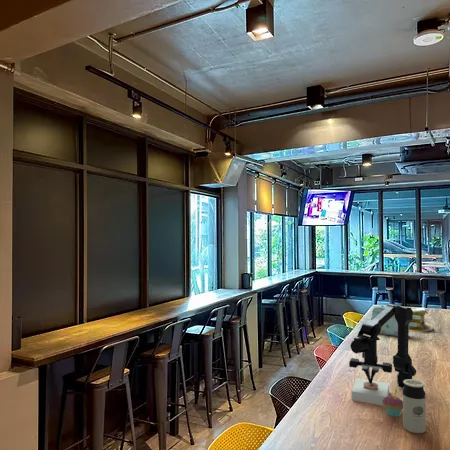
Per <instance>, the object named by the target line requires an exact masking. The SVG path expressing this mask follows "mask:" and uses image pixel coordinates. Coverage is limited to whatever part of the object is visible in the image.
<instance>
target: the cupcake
mask: <svg viewBox="0 0 450 450" xmlns="http://www.w3.org/2000/svg"><path fill="white" fill-rule="evenodd" d="M397 388H398V387H395V389H394V396H393V395H388V396H387V397H385V398H384V399H383V401H382V403H383V405H384V406H383V405H382V406H383V407H384V408H385V409H386V412H387V414H388V415H389V416H391V417H394V418H395V417H397V418H398V417H400V415H401V413H402V412H403V399H401V398H399V397H397V392H398V390H397Z"/></svg>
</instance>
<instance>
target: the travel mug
mask: <svg viewBox="0 0 450 450" xmlns="http://www.w3.org/2000/svg"><path fill="white" fill-rule="evenodd" d="M403 383H404V387H402V401H403V409H402V428H404V429H405V430H406V431H407V432H410V433H413V434H423V433H425V432H426V427H427V426H426V425H427V424H426V391H425V390H424V387H425V383H424V382H422V381H420V380H417V379H413V378H412V379H406V380H404V381H403Z"/></svg>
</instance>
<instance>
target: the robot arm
mask: <svg viewBox="0 0 450 450" xmlns="http://www.w3.org/2000/svg"><path fill="white" fill-rule="evenodd" d="M385 307H386V308H385V309H384V310H383V311H382V312H381V313H379V314H378V315H377V316H376V317H375V318H374V319H372V320H371V319H369V320H367V321H365V322H363V323H362V325H361V327H360V330H359V331H358V334H357V337H354V338H353V340H352V341H351V342H350V346H349V347H350V349H351V351H352V352H353V353H354V354H360V353H361V355H362V356H361V358H363V361H360V358H354V357H351V358H350V359H349V361H348V367H350V368H358V366H360V367H361V371H363V372H364V374H365V375H366V378H367V380H368V381H369V383H370V384H372V381H374V377H375V375H376V374H377V373H378V374H379V371H380V370H381V369H382V371H383V372H384V373H389V374H391V373H392V372H393V368H394V371H395V372H398V373H397V375H396V381H397V385H398V387H402V388H404V383H403V381H404V380H406V379H413V377H415V376H416V375H417V370H416V368H415V367H414V365H413V361H412V357H411V356H410V354H409V333H410V331H409V323H410V322H411V321H412V317H413V310H412V309H411V308H412V307H410V306H409V307H408V306H402V305H397V304H393V303H388V304H386V306H385ZM393 315H394V316H395V319H396V321H397V323H398V336H397V352H396V354H395V355H393V356H392V363H391V362H382V364H381V363H378V361H379V360H378V349H377V347H378V346H377V345H378V344H377V342H378V341H380V340H381V338H379V337H378V336H379V335H380V334H379V333H380V332H381V327H382V326H383V325H384V324H385V323H386V322H387V321H388V320H389V319H390V318H391V317H392V316H393ZM370 368H371V370H370ZM370 371H371V372H370Z"/></svg>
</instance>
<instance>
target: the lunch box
mask: <svg viewBox="0 0 450 450" xmlns="http://www.w3.org/2000/svg"><path fill="white" fill-rule="evenodd" d="M386 307H387V306H385V305H383V304H382V305H380V306H375V307H373V308H372V311H371V315H372V316H371V318H370V320H372V319H374V318H375V317H376V316H377V315H378V314H379V313H381V312H382V311H383V310H384V309H385V308H386ZM378 335H384V336H393V337H398V323H397V321H396V319H395V316H394V315H393V316H392V317H391V318H390V319H389V320H388V321H387V322H386V323H385V324H384V325H383V326H382V327H381V332H380V333H379V334H378Z"/></svg>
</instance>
